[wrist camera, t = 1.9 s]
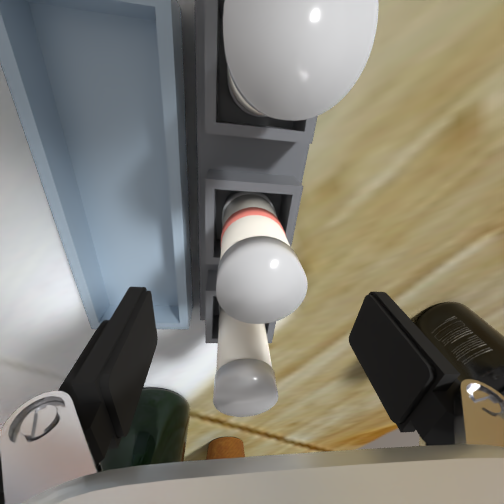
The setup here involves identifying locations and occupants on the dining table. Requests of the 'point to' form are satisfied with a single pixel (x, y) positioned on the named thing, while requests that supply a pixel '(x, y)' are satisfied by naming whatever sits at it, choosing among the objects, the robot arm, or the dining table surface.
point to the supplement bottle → (466, 343)
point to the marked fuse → (257, 262)
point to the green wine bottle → (153, 432)
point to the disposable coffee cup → (225, 448)
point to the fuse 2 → (295, 53)
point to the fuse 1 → (243, 369)
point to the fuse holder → (237, 157)
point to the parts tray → (108, 142)
